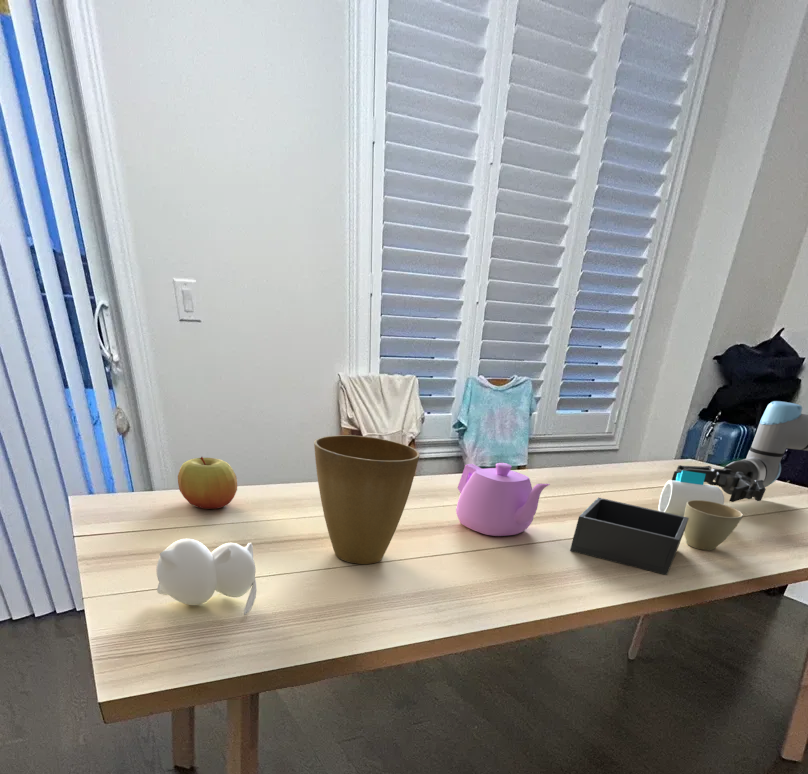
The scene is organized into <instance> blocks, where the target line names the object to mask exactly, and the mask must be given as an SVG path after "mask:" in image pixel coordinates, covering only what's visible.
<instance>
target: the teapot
mask: <svg viewBox="0 0 808 774" xmlns="http://www.w3.org/2000/svg"><path fill="white" fill-rule="evenodd" d="M512 467H513V466H512V465H511V464H509V463H506V462H497V463H495V467H485V468H482V467H480V466H478V465H476V464H474V463H467V464H465V465H464V468H463V471H462V473H461V477H460V479H459V482H458V485H457V490H458V491H459V493H460V494H459V497H458V499H457V503H456V508H455V514H456V516H457V519H458V521H459V523H460V524H461V525H462V526H464V527H466V528H468V529H470V530H472V531H475V532H478V533H480V534H483V535H486V536H493V537H494V536H495V537H503V536H504V537H505V536H506V537H507V536H514V535H518V534H521V533H524V532H525V531H526V530H527V529H528V528H529V527H530V526H531V524H532V523H533V520H534V516H536V515H535V514H536V513H537V510H538V507H539V501H540V497H541V494H542V492H543V490H544V489H545V488H547V487H549V486H551V484H550V483H537V484H535V485H534V486H533V487H532V482H531V479H530V477H529V476H528V475H526V474H523V473H520V472H517V471H515V470H511V469H512Z"/></svg>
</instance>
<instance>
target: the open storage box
mask: <svg viewBox="0 0 808 774" xmlns="http://www.w3.org/2000/svg"><path fill="white" fill-rule="evenodd" d="M688 519H689V518H688V517H683V516H679V515H675V514H670V513H666V512H661V511H658V509H657V510H656V509H653V508H647V507H643V506H638V505H634V504H630V503H626V502H621V501H616V500H611V499H609V498H608V499H607V498H604V497H597V498H596V499H595V500H594V501H593V502H592V503H591V504H590V505H589V506H588V507H587V508H586V509H585V510H583V512H582V513H581V514H580V515H579V516H578V519H577V522H576V526H575V530H574V534H573V537H572V541H571V546H570V550H569V551H571V552H574V553H578V554H582V555H585V556H586V555H587V556H591V557H594V558H597V559H601V560H605V561H610V562H613V563H618V564H622V565H625V566H630V567H634V568H637V569H642V570H646V571H649V572H653V573H657V574H660V575H665V576H668V573H669V571H670V568H671V566H672V564H673V561H674V559H675V557H676V554H677V553H678V550H679V547H680V544H681V541H682V538H683V535H684V534H685V532H684V530H685V528H686V525H687V522H688Z"/></svg>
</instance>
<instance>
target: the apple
mask: <svg viewBox="0 0 808 774" xmlns="http://www.w3.org/2000/svg"><path fill="white" fill-rule="evenodd" d="M177 485H178V489H179V490H178V491H179V492H180V494H181V495H182V497H183V498H184V499H185V500H186V501H187V502H188V503H189V504H190V505H192V506H193V507H195V508H199V509H204V510H218V509H222V508H223V507H226V506H228V505H229V504H231V502H232V501H233V499H234V498H235V496H236V494H237V491H238V478H237V475H236V473H235V471H234V469H233V468H232V466H231V465H230V464H229V463H228V462H226V461H225V460H222V459H219V458H215V457H203V456H201V457H194V458H190V459H188V460H187V461H186V460H185V461H184V462H183V463H182V465H181V466H180V468H179V471H178V474H177Z"/></svg>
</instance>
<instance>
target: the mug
mask: <svg viewBox="0 0 808 774" xmlns="http://www.w3.org/2000/svg"><path fill="white" fill-rule="evenodd" d="M705 475H706V474H704V473H697V472H691V471H684V470H683V471H682V472H681V473H677V477H676V481H675V480H672V479H668V480H667V481H666V483H665V484H664V486H663V487H662V490H661V493H660V497H659V502H658V506H657V507H658V509H657V511H661V512H666V513H670V514H675V515H679V516H683V517H684V514H685V508H686V503H687V502H688V501H690V500H704V501H711V502H716V503H720V504H724V505H725V495H724V493H723V492H724V491H723V490H722V488H720V487H719V486H716V485H710V484H705V482H704V479H705Z"/></svg>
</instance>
